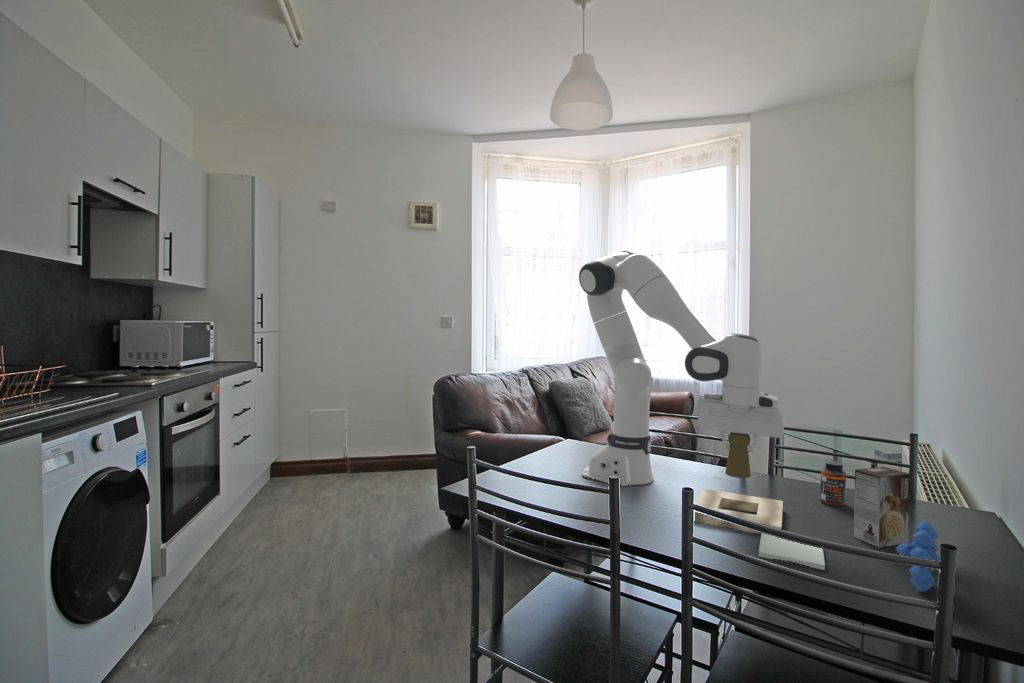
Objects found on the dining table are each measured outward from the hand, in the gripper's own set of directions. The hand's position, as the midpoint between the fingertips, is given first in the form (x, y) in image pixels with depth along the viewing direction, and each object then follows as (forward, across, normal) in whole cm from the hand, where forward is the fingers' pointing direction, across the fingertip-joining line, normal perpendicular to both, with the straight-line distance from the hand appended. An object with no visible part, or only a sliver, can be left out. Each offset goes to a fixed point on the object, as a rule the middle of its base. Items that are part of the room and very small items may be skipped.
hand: (738, 450), depth 130 cm
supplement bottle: (+17, +22, +23) cm, 36 cm away
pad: (+17, +12, -17) cm, 27 cm away
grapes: (+17, +33, -21) cm, 43 cm away
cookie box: (+17, +30, 0) cm, 35 cm away
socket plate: (+17, 0, 0) cm, 17 cm away
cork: (+7, 0, 0) cm, 7 cm away
